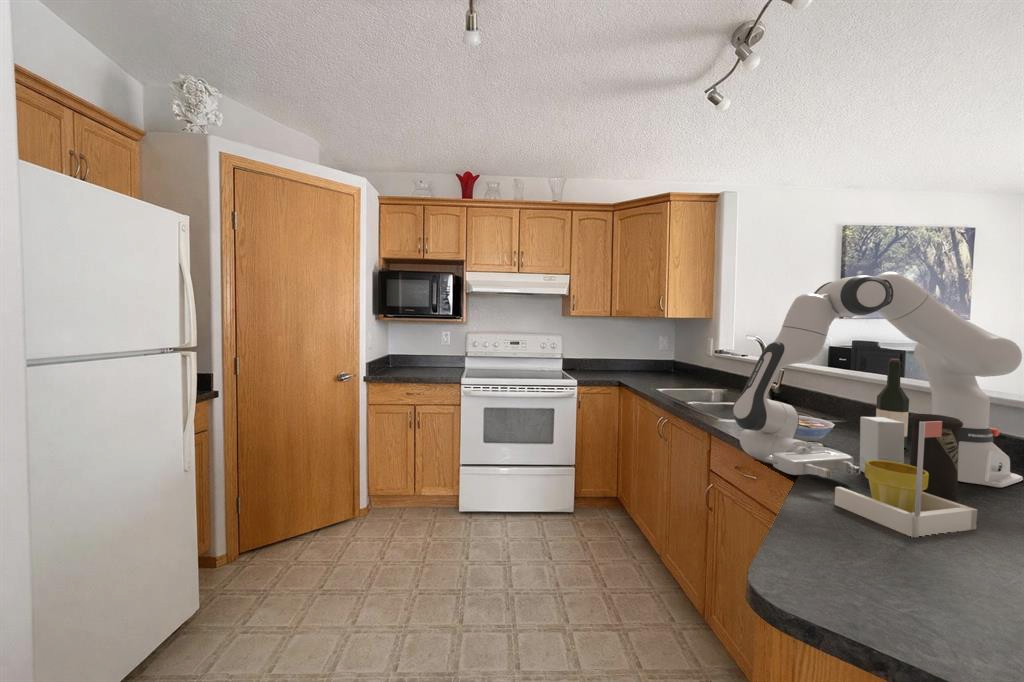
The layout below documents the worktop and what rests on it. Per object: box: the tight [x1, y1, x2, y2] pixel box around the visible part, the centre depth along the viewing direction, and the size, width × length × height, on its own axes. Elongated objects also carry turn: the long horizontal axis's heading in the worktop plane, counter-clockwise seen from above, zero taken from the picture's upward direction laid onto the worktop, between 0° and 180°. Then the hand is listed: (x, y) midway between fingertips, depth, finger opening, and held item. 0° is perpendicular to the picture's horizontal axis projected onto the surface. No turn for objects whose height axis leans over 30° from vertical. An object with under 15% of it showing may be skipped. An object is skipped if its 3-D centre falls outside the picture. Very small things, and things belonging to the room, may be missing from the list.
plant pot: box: [864, 460, 929, 513], centre depth 95 cm, size 10×10×10 cm
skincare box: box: [859, 416, 905, 474], centre depth 118 cm, size 8×7×16 cm
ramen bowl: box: [793, 414, 836, 442], centre depth 154 cm, size 25×23×8 cm
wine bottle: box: [875, 358, 910, 448], centre depth 149 cm, size 8×8×30 cm
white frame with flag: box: [834, 421, 978, 538], centre depth 92 cm, size 17×16×22 cm
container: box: [908, 413, 963, 503], centre depth 102 cm, size 9×9×20 cm
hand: (843, 472), depth 104 cm, fingers open, 8 cm apart
